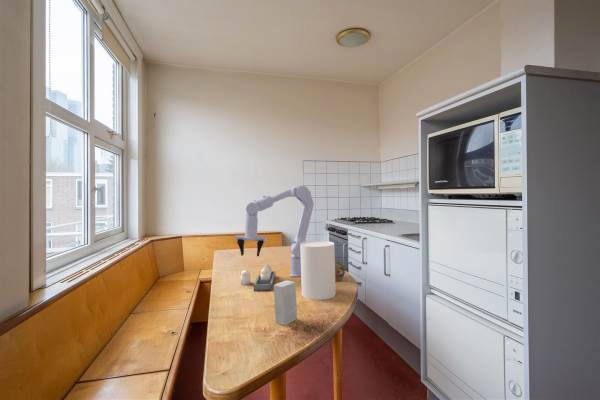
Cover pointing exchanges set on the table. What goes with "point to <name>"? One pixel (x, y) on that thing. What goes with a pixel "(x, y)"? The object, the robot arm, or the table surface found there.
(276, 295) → the skincare box
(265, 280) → the egg crate
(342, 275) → the tin
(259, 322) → the table surface
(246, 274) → the egg
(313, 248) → the canister
